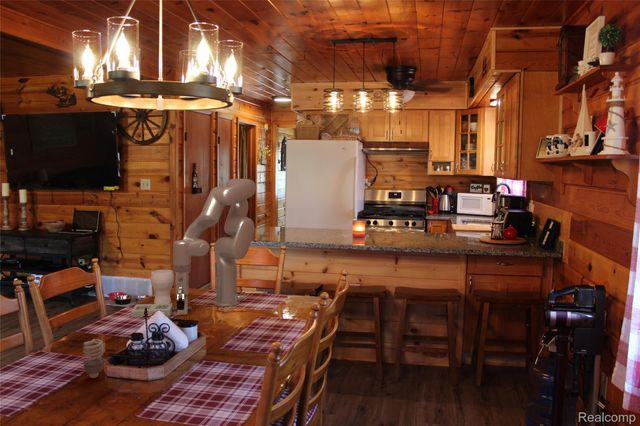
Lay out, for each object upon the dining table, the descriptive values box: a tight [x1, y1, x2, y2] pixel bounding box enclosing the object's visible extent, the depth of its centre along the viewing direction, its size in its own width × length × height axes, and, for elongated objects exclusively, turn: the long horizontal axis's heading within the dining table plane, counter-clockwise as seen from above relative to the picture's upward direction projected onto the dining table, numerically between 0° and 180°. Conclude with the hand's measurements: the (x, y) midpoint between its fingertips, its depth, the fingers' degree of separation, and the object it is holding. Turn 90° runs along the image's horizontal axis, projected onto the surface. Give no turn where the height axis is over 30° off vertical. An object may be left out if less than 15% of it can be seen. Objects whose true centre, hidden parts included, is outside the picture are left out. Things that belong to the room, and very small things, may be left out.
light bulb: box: [82, 338, 104, 379], centre depth 157 cm, size 6×6×12 cm
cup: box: [150, 269, 175, 304], centre depth 247 cm, size 11×11×15 cm
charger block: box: [176, 296, 189, 316], centre depth 229 cm, size 4×4×7 cm
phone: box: [172, 306, 193, 312], centre depth 236 cm, size 8×4×1 cm, turn 99°
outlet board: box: [130, 302, 174, 318], centre depth 229 cm, size 16×12×3 cm
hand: (181, 306), depth 229 cm, fingers open, 9 cm apart
